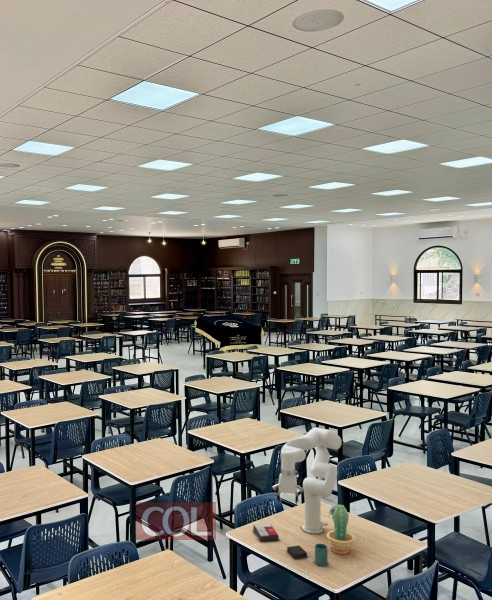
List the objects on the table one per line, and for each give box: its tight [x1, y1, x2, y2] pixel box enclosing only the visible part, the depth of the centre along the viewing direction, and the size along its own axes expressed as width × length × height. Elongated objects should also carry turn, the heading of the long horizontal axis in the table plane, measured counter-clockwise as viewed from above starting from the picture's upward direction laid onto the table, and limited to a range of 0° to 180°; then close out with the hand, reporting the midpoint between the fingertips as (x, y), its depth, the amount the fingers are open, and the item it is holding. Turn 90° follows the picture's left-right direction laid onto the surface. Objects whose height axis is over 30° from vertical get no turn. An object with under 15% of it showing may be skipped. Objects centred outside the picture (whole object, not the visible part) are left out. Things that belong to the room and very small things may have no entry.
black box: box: [286, 545, 308, 560], centre depth 305 cm, size 7×9×3 cm
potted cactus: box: [326, 503, 356, 555], centre depth 309 cm, size 15×15×25 cm
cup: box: [314, 543, 329, 567], centre depth 295 cm, size 6×6×9 cm
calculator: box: [252, 523, 280, 543], centre depth 328 cm, size 11×4×15 cm
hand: (287, 502), depth 314 cm, fingers open, 9 cm apart
